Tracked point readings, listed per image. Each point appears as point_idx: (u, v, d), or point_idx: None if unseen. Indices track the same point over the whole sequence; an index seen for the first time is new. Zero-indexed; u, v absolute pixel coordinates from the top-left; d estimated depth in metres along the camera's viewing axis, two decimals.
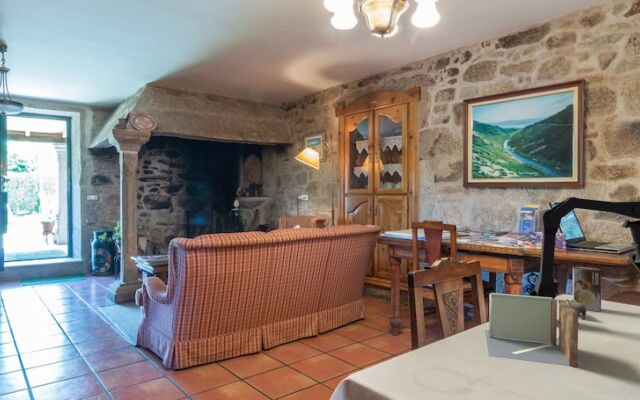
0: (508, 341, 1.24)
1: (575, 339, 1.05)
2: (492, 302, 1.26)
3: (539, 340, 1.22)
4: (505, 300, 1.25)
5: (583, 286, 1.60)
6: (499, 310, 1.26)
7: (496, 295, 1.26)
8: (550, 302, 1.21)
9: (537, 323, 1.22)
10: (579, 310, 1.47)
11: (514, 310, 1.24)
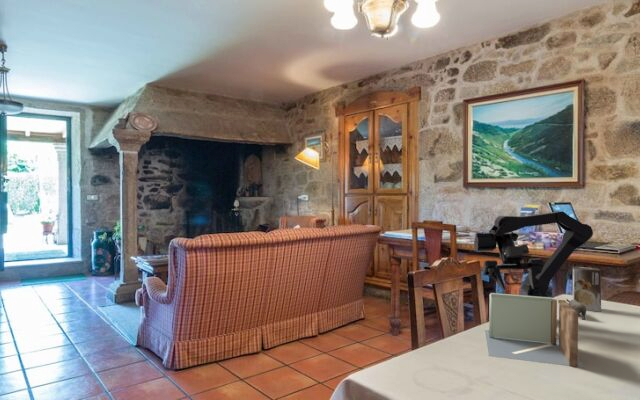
0: (508, 341, 1.24)
1: (575, 339, 1.05)
2: (492, 302, 1.26)
3: (539, 340, 1.22)
4: (505, 300, 1.25)
5: (583, 286, 1.60)
6: (499, 310, 1.26)
7: (496, 295, 1.26)
8: (550, 302, 1.21)
9: (537, 323, 1.22)
10: (579, 310, 1.47)
11: (514, 310, 1.24)
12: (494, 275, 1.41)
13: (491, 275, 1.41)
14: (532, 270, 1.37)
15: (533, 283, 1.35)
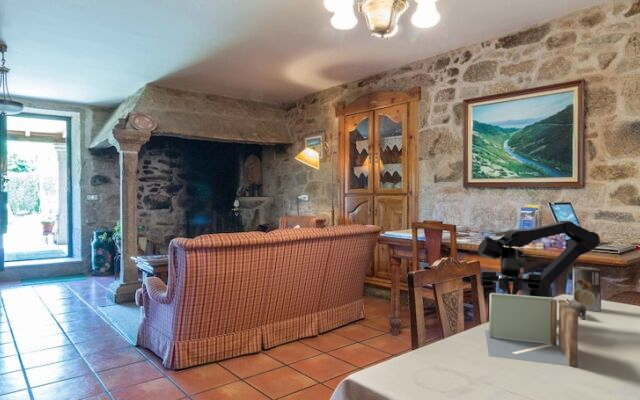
0: (508, 341, 1.24)
1: (575, 339, 1.05)
2: (492, 302, 1.26)
3: (539, 340, 1.22)
4: (505, 300, 1.25)
5: (583, 286, 1.60)
6: (499, 310, 1.26)
7: (496, 295, 1.26)
8: (550, 302, 1.21)
9: (537, 323, 1.22)
10: (579, 310, 1.47)
11: (514, 310, 1.24)
12: (504, 287, 1.39)
13: (501, 287, 1.40)
14: (513, 284, 1.36)
15: None
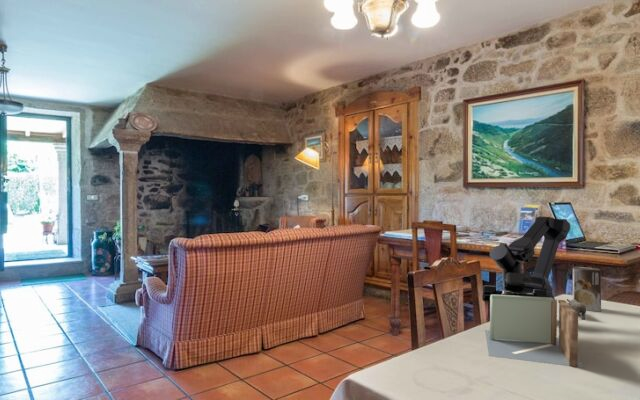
0: (508, 341, 1.24)
1: (575, 339, 1.05)
2: (493, 304, 1.24)
3: (540, 340, 1.22)
4: (506, 302, 1.24)
5: (583, 286, 1.60)
6: (500, 311, 1.24)
7: (497, 296, 1.24)
8: (550, 302, 1.21)
9: (538, 323, 1.22)
10: (579, 310, 1.47)
11: (515, 311, 1.23)
12: None
13: None
14: None
15: None
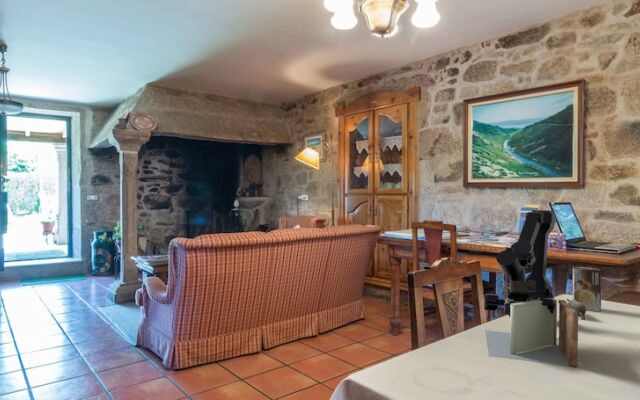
0: (508, 341, 1.24)
1: (575, 339, 1.05)
2: (515, 314, 1.14)
3: (546, 343, 1.19)
4: (524, 309, 1.15)
5: (583, 286, 1.60)
6: (520, 321, 1.14)
7: (518, 305, 1.14)
8: None
9: (545, 326, 1.19)
10: (578, 310, 1.47)
11: (530, 318, 1.16)
12: None
13: (508, 312, 1.23)
14: None
15: None
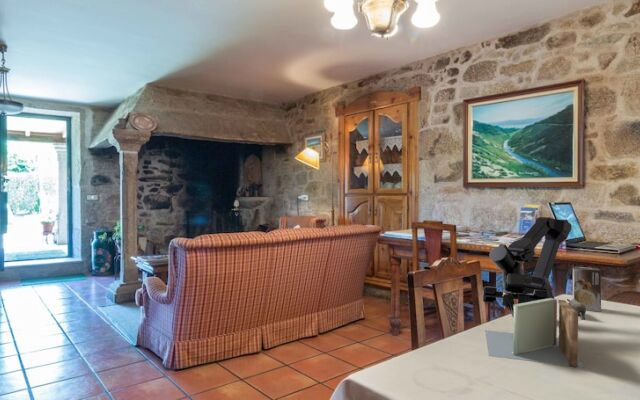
0: (508, 341, 1.24)
1: (575, 339, 1.05)
2: (518, 315, 1.13)
3: (547, 344, 1.19)
4: (527, 310, 1.14)
5: (583, 286, 1.60)
6: (523, 322, 1.14)
7: (522, 306, 1.13)
8: (553, 303, 1.20)
9: (546, 326, 1.19)
10: (578, 309, 1.47)
11: (532, 318, 1.16)
12: (508, 304, 1.30)
13: (505, 304, 1.31)
14: (519, 301, 1.27)
15: None
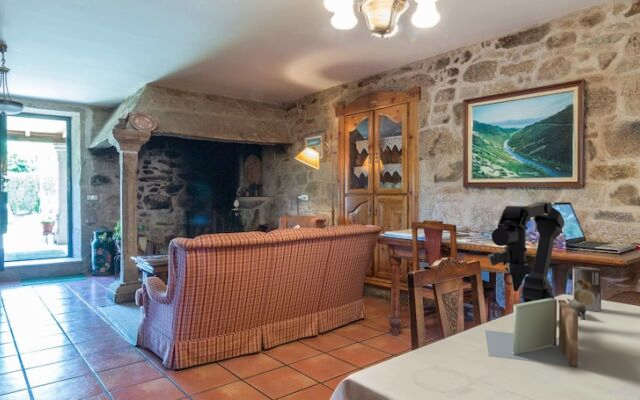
0: (508, 341, 1.24)
1: (575, 339, 1.05)
2: (518, 315, 1.13)
3: (547, 344, 1.19)
4: (527, 310, 1.14)
5: (583, 286, 1.60)
6: (523, 322, 1.14)
7: (522, 306, 1.13)
8: (553, 303, 1.20)
9: (546, 326, 1.19)
10: (578, 309, 1.47)
11: (532, 318, 1.16)
12: None
13: None
14: None
15: None
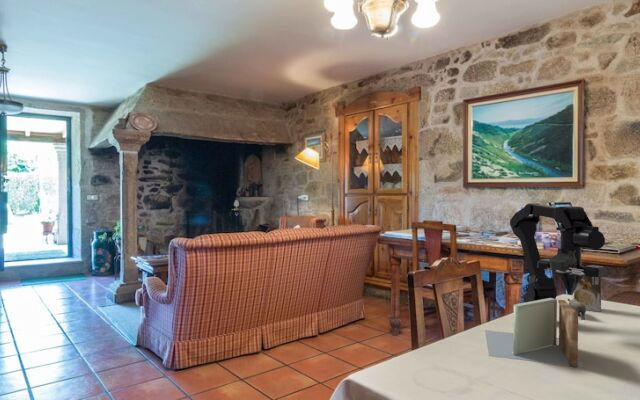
0: (508, 341, 1.24)
1: (575, 339, 1.05)
2: (518, 315, 1.13)
3: (547, 344, 1.19)
4: (527, 310, 1.14)
5: (583, 286, 1.60)
6: (523, 322, 1.14)
7: (522, 306, 1.13)
8: (553, 303, 1.20)
9: (546, 326, 1.19)
10: (578, 309, 1.47)
11: (532, 318, 1.16)
12: None
13: None
14: (570, 277, 1.29)
15: (569, 290, 1.30)
